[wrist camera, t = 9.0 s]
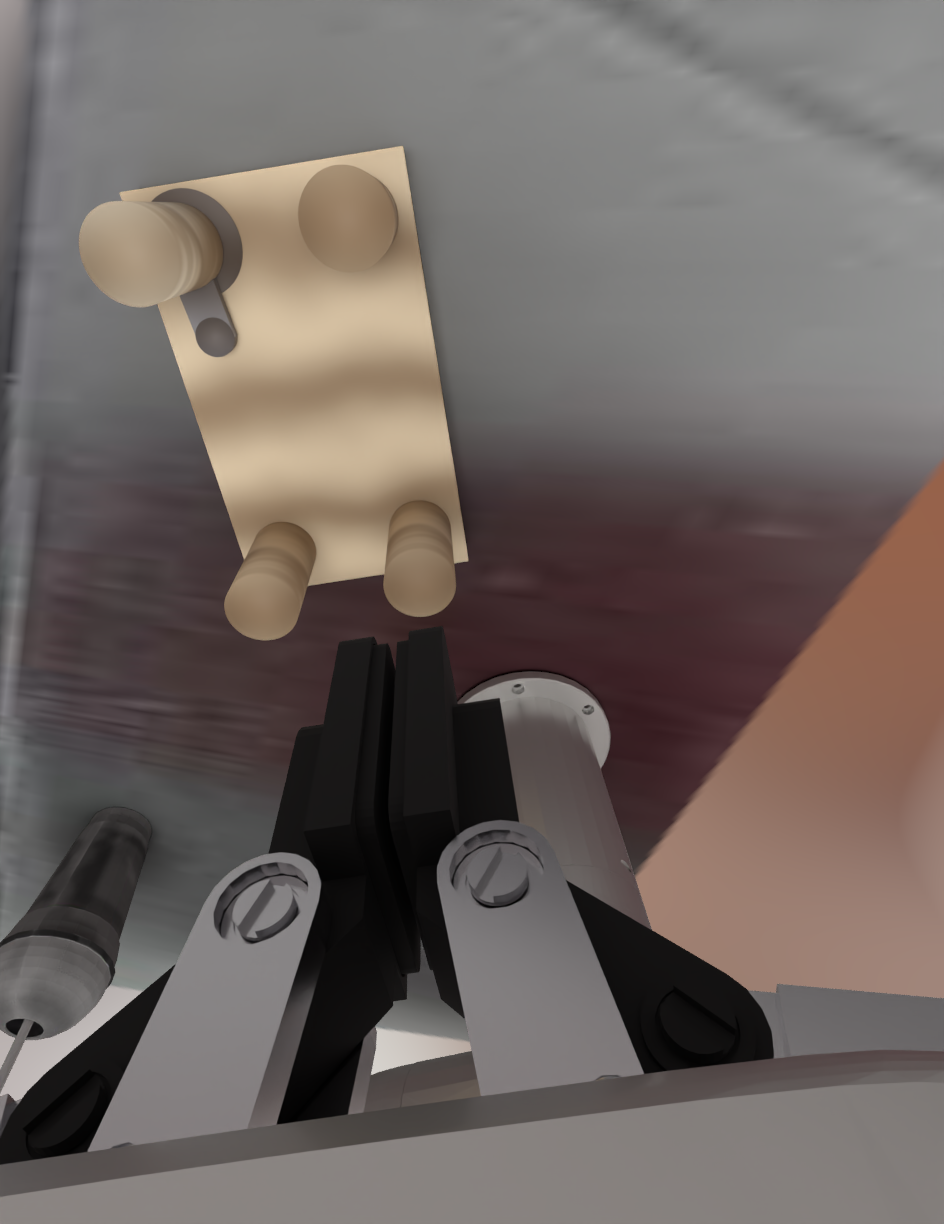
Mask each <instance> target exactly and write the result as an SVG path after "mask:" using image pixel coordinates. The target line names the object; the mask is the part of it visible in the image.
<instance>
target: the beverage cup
mask: <svg viewBox="0 0 944 1224" xmlns="http://www.w3.org/2000/svg"><path fill="white" fill-rule="evenodd" d="M151 834H152V830H151V825H150V824H149V822H148V820H147V819H146V818H145V817H143V816H142V815H141V814H139V813H137V812H135V811H133V810H130V809H127V808H121V807H111V808H106V809H103V810H101V811H99V812H97V813H96V814H95V816H94V817H93V818H92V820H91V822H90V823H89V824H88V825H87V827H86V828H85V829H84V830H83V831H82V832H81V834H80V835H79V837H78V838H77V840H76V841H75V843H74V844H73V846H72V847H71V848H70V850H69V851H68V853H67V854H66V856H65V857H64V859H63V860H62V862H61V863H60V865H59V866H58V868H57V869H56V871H55V872H54V874H53V875H52V876H51V878H50V879H49V881H48V882H47V884H46V885H45V887H44V888H43V890H42V891H41V893H40V894H39V896H38V897H37V899H36V900H35V902H34V903H33V904H32V906H31V907H30V909H29V910H28V912H27V913H26V915H25V916H24V917H23V918H22V919H21V920H20V921H19V922H18V923H17V924H16V926H15V927H14V928H13V929H12V930H11V932H10V933H9V934H8V935H7V936H6V937H5V939H3V940H2V941H1V942H0V1030H2V1031H3V1032H4V1033H6V1034H8V1035H9V1036H12V1037H15V1040H14V1042H13V1044H12V1047H11V1049H10V1051H9V1053H8V1055H7V1057H6V1059H5V1061H4V1063H3V1065H2V1067H1V1069H0V1092H1V1090H2V1088H3V1086H4V1084H5V1082H6V1080H7V1077H8V1075H9V1073H10V1071H11V1069H12V1066H13V1065H14V1063H15V1060H16V1058H17V1056H18V1054H19V1052H20V1050H21V1048H22V1045H23V1043H24V1041H25V1040H39V1039H44V1038H50V1037H52V1036H55V1035H57V1034H60V1033H62V1032H64V1031H66V1030H68V1029H70V1028H71V1027H73V1026H75V1025H76V1024H77V1023H78V1022H79V1021H81V1020H82V1019H83V1018H84V1017H85V1016H86V1015H87V1014H88V1013H89V1012H90V1011H91V1010H92V1009H93V1008H94V1007H95V1006H96V1005H97V1003H98V1002H99V1000H100V999H101V997H102V996H103V994H104V992H105V990H106V989H107V988H108V987H109V985H110V984H111V982H112V980H113V977H114V974H115V968H114V967H115V964H116V961H117V956H118V951H119V946H120V943H119V939H120V936H121V933H122V929H123V926H124V923H125V920H126V917H127V914H128V910H129V907H130V904H131V901H132V898H133V894H134V891H135V888H136V885H137V882H138V878H139V875H140V872H141V869H142V866H143V862H144V859H145V856H146V853H147V850H148V843H149V839H150V837H151Z"/></svg>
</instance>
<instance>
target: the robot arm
mask: <svg viewBox="0 0 944 1224" xmlns="http://www.w3.org/2000/svg"><path fill="white" fill-rule="evenodd" d="M610 737H611V734H610V729H609V723H608V720H607V718H606V715H605V712H604V710H603V708H602V707H601V705H600V703H599V702H598V700H597V699H596V698H595V697H594V696H593V695H592V694H591V693H590V692H589V691H588V690H587V689H586V688H585V687H583V686H581V685H580V684H578V683H577V682H575V681H573V680H571V679H568V678H566V677H563V676H561V675H556V674H551V673H547V672H532V671H527V672H518V673H510V674H506V675H503V676H499V677H495V678H493V679H491V680H489V681H486V682H484V683H482V684H480V685H478V686H477V687H475V688H474V689H472V690H471V691H469V692H468V693H466V694H465V695H464V696H463V697H462V698H461V699H460V700H459V701H458V702H457V698H456V692H455V687H454V682H453V676H452V671H451V666H450V661H449V655H448V650H447V645H446V639H445V634H444V630H443V627H442V626H440V627H434V628H427V629H421V630H414V631H410V632H409V640H407V641H400V642H397V655H396V671H395V667H394V663H393V658H392V654H391V650H390V647H389V645H388V643H387V644H381V645H377V642H376V640H375V638H374V637H368V638H362V639H355V640H349V641H342V642H340V643H339V646H338V651H337V656H336V662H335V667H334V672H333V677H332V683H331V688H330V693H329V699H328V704H327V709H326V714H325V720H324V724H322V725H316V726H309V727H303V728H301V729H300V730H299V731H298V734H297V737H296V740H295V745H294V749H293V753H292V757H291V762H290V766H289V770H288V774H287V778H286V783H285V787H284V791H283V795H282V799H281V804H280V808H279V812H278V816H277V821H276V825H275V829H274V833H273V837H272V842H271V846H270V850H269V854H266V855H262V856H259V857H257V858H254V859H252V860H249V861H246V862H245V863H243V864H242V865H240V866H238V867H237V868H235V869H234V870H232V871H231V872H229V873H228V874H227V875H226V876H225V877H224V878H223V879H222V880H221V881H220V882H219V883H218V884H217V885H216V886H215V887H214V889H213V891H212V892H211V894H210V895H209V897H208V898H207V900H206V901H205V903H204V906H203V908H202V910H201V912H200V914H199V916H198V918H197V920H196V922H195V925H194V927H193V929H192V931H191V933H190V935H189V937H188V939H187V942H186V944H185V946H184V948H183V950H182V952H181V954H180V956H179V958H178V961H177V963H176V964H175V965H174V966H173V967H172V968H171V969H169V970H168V971H167V972H166V973H165V974H163V975H162V976H161V977H160V978H159V979H157V980H156V981H155V982H154V983H153V984H151V985H150V986H149V987H148V988H147V989H146V990H144V991H143V992H142V993H141V994H140V995H138V996H137V997H136V998H135V999H134V1000H132V1001H131V1002H130V1003H129V1004H128V1005H126V1006H125V1007H124V1008H123V1009H122V1010H121V1011H119V1012H118V1013H117V1014H116V1015H114V1016H113V1017H112V1018H111V1019H110V1020H109V1021H107V1022H106V1023H105V1024H104V1025H103V1026H101V1027H100V1028H99V1029H98V1030H97V1031H95V1032H94V1033H93V1034H92V1035H91V1036H89V1037H88V1038H87V1039H86V1040H85V1041H83V1042H82V1043H81V1044H80V1045H79V1046H78V1047H76V1048H75V1049H74V1050H73V1051H72V1052H70V1053H69V1054H68V1055H67V1056H66V1057H64V1058H63V1059H62V1060H61V1061H60V1062H58V1063H57V1064H56V1065H55V1066H54V1067H53V1068H51V1069H50V1070H49V1071H48V1072H47V1073H46V1074H44V1075H43V1076H42V1077H41V1079H40V1080H39V1081H38V1082H37V1083H36V1084H34V1086H32V1087H31V1088H30V1089H29V1090H28V1091H27V1093H26V1094H25V1095H24V1097H23V1098H22V1099H20V1100H17V1101H14V1099H13V1098H12V1097H11V1096H10V1095H9V1094H6V1095H3V1096H0V1224H944V998H933V997H920V996H910V995H898V994H887V993H875V992H864V991H852V990H841V989H829V988H818V987H806V986H794V985H783V984H777V989H776V993H771V992H759V991H748V990H747V989H746V988H744V987H743V986H742V985H740V984H739V983H738V982H737V981H735V980H734V979H733V978H731V977H730V976H729V975H727V974H726V973H724V972H722V971H720V970H719V969H717V968H715V967H714V966H712V965H710V964H709V963H707V962H705V961H703V960H702V959H700V958H698V957H697V956H695V955H693V954H692V953H690V952H688V951H686V950H685V949H683V948H681V947H680V946H678V945H676V944H675V943H673V942H671V941H669V940H668V939H666V938H664V937H663V936H661V935H659V934H657V933H656V932H654V931H652V929H651V926H650V923H649V920H648V917H647V914H646V910H645V907H644V904H643V902H642V898H641V895H640V892H639V889H638V885H637V882H636V879H635V876H634V873H633V870H632V866H631V863H630V860H629V857H628V854H627V851H626V848H625V844H624V841H623V838H622V835H621V832H620V829H619V826H618V822H617V819H616V816H615V813H614V810H613V807H612V804H611V800H610V797H609V794H608V791H607V788H606V785H605V782H604V778H603V775H602V772H601V768H602V766H603V764H604V762H605V761H606V758H607V755H608V752H609V749H610ZM420 936H421V940H422V943H423V947H424V950H425V954H426V957H427V961H428V964H429V968H430V970H433V972H434V975H435V979H436V983H437V986H438V990H439V993H440V997H441V999H442V1000H443V1001H444V1002H445V1003H446V1004H448V1005H449V1006H450V1007H451V1008H453V1009H454V1010H455V1011H456V1012H457V1013H459V1014H460V1015H461V1016H462V1017H463V1018H465V1020H466V1025H467V1030H468V1035H469V1040H470V1044H471V1050H472V1051H470V1052H465V1053H460V1054H455V1055H450V1056H445V1057H440V1058H435V1059H430V1060H425V1061H421V1062H416V1063H414V1064H409V1065H404V1066H400V1067H396V1068H393V1069H389V1070H385V1071H382V1072H378V1073H376V1074H373V1075H371V1071H372V1065H373V1060H374V1055H375V1050H376V1034H377V1032H376V1028H375V1025H376V1024H377V1023H378V1022H379V1021H380V1020H381V1019H382V1017H383V1016H384V1015H385V1014H386V1013H387V1012H388V1011H389V1010H390V1009H391V1008H392V1006H393V1001H398V1000H405V999H407V974H409V973H416V972H419V971H420Z"/></svg>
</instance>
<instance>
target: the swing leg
mask: <svg viewBox="0 0 944 1224" xmlns="http://www.w3.org/2000/svg"><path fill="white" fill-rule="evenodd" d="M79 250H80V255H81V259H82V262H83V265H84V267H85V269H86V271H87V273H88V275H89V276H90V278H91V279H92V281H93V282H94V283H95V284H96V286H97V287H98V288H99V289H100V290H101V291H102V292H104V293H105V294H106V295H107V296H109V297H110V298H112V299H113V300H115V301H117V302H119V303H122V304H124V305H128V306H132V307H148V306H152V305H155V304H158V303H161V302H163V301H166V300H169V299H172V298H174V297H177V296H180V298H181V301H182V303H183V306H184V308H185V311H186V313H187V316H188V318H189V321H190V323H191V325H192V328H193V330H194V333H195V336H196V341H197V344H198V345H199V347H200V348H201V350H202V351H203V352H205V353H206V354H208V355H210V356H212V357H223V356H225V355H227V354H228V353H230V352H231V351H232V350H233V349H234V348H235V346H236V344H237V332H236V330H235V327H234V324H233V322H232V319H231V316H230V314H229V311H228V308H227V306H226V303H225V301H224V298H223V295H222V293H221V290H220V287H219V285H218V282H217V279H216V277H217V275H218V274H219V272H220V269H221V266H222V262H223V246H222V241H221V238H220V236H219V233H218V231H217V229H216V227H215V226H214V224H213V223H212V222H211V220H210V219H209V218H208V217H207V216H206V215H205V214H204V213H202V212H201V211H200V210H198V209H196V208H195V207H193V206H190V205H188V204H184V203H178V202H134V201H112V202H107V203H104V204H101V205H99V206H97V207H96V208H94V209H93V210H92V211H91V212H90V213H89V214H88V215H87V217H86V218H85V220H84V221H83V224H82V226H81V230H80V234H79Z"/></svg>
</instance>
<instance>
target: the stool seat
mask: <svg viewBox="0 0 944 1224" xmlns="http://www.w3.org/2000/svg"><path fill="white" fill-rule="evenodd" d="M120 195H121V198H122V201H134V202H178V203H184V204H188V205H190V206H193V207H195V208H196V209H198V210H200V211H201V212H202V213H204V214H205V215H206V216H207V217H208V218H209V219H210V220H211V222H212V223H213V224H214V226H215V227H216V229H217V231H218V233H219V236H220V238H221V241H222V246H223V262H222V266H221V269H220V272H219V274H218V275H217V277H216V279H217V282H218V285H219V287H220V290H221V293H222V295H223V298H224V301H225V303H226V306H227V308H228V311H229V314H230V316H231V319H232V322H233V324H234V327H235V330H236V332H237V344H236V346H235V348H234V349H233V350H232V351H231V352H230V353H228V354H227V355H225V356H223V357H212V356H210V355H208V354H206V353H205V352H203V351H202V350H201V348H200V347H199V345H198V344H197V341H196V336H195V333H194V330H193V328H192V325H191V323H190V321H189V318H188V316H187V313H186V311H185V308H184V306H183V303H182V301H181V298H180V296H177V297H174V298H172V299H169V300H166V301H163V302H161V303H158V307H159V310H160V313H161V316H162V319H163V322H164V325H165V328H166V331H167V334H168V337H169V339H170V342H171V345H172V348H173V351H174V354H175V357H176V360H177V363H178V366H179V369H180V372H181V375H182V378H183V381H184V384H185V387H186V390H187V393H188V395H189V398H190V401H191V404H192V407H193V410H194V413H195V416H196V419H197V422H198V425H199V428H200V431H201V434H202V437H203V440H204V443H205V446H206V448H207V451H208V454H209V457H210V460H211V463H212V466H213V469H214V472H215V475H216V478H217V481H218V484H219V487H220V490H221V493H222V496H223V499H224V502H225V504H226V507H227V510H228V513H229V516H230V519H231V522H232V525H233V528H234V531H235V534H236V537H237V540H238V543H239V546H240V549H241V552H242V555H243V557H244V562H243V563H242V565H241V567H240V569H239V571H238V573H237V575H236V577H235V579H234V581H233V583H232V585H231V587H230V589H229V591H228V593H227V595H226V598H225V603H224V608H225V613H226V616H227V618H228V620H229V622H230V623H231V624H232V626H233V627H234V628H235V629H236V630H238V631H239V632H240V633H242V634H243V635H245V636H247V637H250V638H253V639H257V640H273V639H277V638H280V637H282V636H284V635H286V634H287V633H289V632H290V631H291V630H292V629H293V627H294V626H295V624H296V622H297V619H298V616H299V612H300V609H301V606H302V603H303V599H304V596H305V593H306V589H307V586H310V585H316V584H323V583H329V582H336V581H342V580H349V579H355V578H362V577H368V576H375V575H382V574H384V582H383V587H384V592H385V595H386V597H387V599H388V601H389V602H390V604H391V605H392V606H393V607H394V608H395V609H397V610H398V611H400V612H402V613H404V614H407V615H410V616H416V617H424V616H430V615H433V614H436V613H438V612H440V611H441V610H443V609H444V608H445V607H446V606H447V605H448V604H449V603H450V602H451V600H452V598H453V597H454V594H455V590H456V579H455V568H454V563H460V562H466V561H468V553H467V546H466V539H465V533H464V526H463V520H462V514H461V508H460V501H459V495H458V489H457V482H456V476H455V470H454V463H453V457H452V451H451V444H450V438H449V432H448V425H447V419H446V413H445V406H444V400H443V394H442V387H441V381H440V375H439V368H438V362H437V356H436V349H435V343H434V337H433V330H432V324H431V318H430V311H429V305H428V299H427V292H426V286H425V280H424V273H423V267H422V261H421V254H420V248H419V242H418V236H417V229H416V223H415V217H414V210H413V204H412V198H411V191H410V185H409V179H408V172H407V166H406V160H405V153H404V148H403V146H399V147H393V148H387V149H381V150H375V151H369V152H363V153H357V154H351V155H344V156H338V157H332V158H326V159H320V160H314V161H308V162H302V163H296V164H290V165H283V166H277V167H271V168H265V169H259V170H253V171H247V172H241V173H235V174H228V175H222V176H216V177H210V178H204V179H198V180H192V181H186V182H180V183H174V184H167V185H161V186H155V187H149V188H143V189H137V190H131V191H125V192H120Z"/></svg>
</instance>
